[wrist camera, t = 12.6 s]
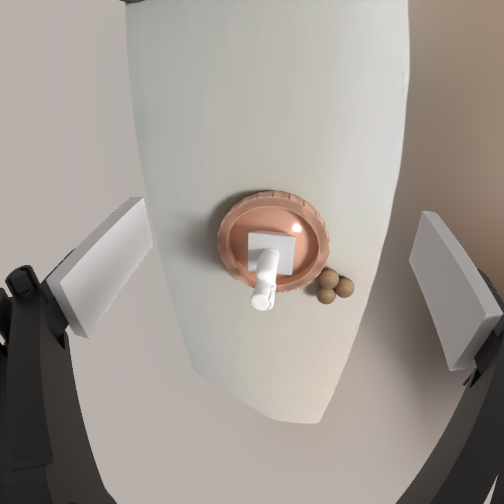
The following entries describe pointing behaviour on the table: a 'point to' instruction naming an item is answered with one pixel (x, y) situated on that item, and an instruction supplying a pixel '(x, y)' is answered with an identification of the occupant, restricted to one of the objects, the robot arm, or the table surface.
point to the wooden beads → (331, 280)
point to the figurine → (269, 263)
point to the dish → (278, 220)
